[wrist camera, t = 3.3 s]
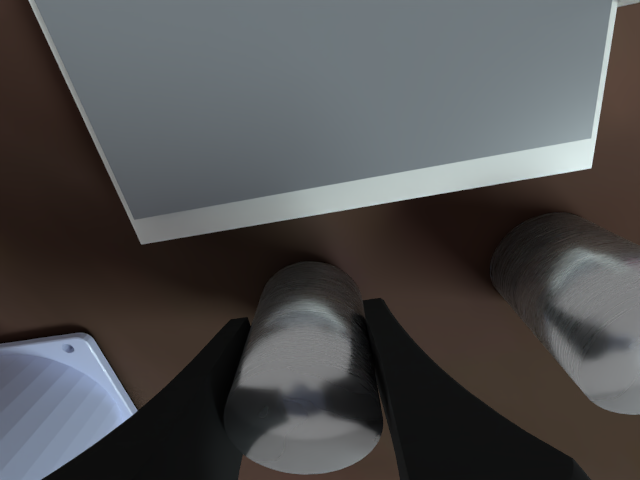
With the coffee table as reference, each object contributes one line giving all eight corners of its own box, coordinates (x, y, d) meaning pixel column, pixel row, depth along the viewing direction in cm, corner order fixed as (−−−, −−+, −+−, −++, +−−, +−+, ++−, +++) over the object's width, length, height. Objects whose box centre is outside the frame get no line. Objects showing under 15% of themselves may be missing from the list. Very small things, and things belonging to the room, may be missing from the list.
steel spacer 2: (488, 310, 13) (570, 421, 9) (491, 221, 12) (593, 303, 7) (590, 296, 13) (731, 406, 8) (608, 203, 11) (792, 277, 7)
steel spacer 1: (274, 351, 14) (248, 480, 9) (248, 270, 12) (200, 378, 7) (368, 338, 13) (390, 466, 9) (354, 253, 12) (373, 356, 7)
